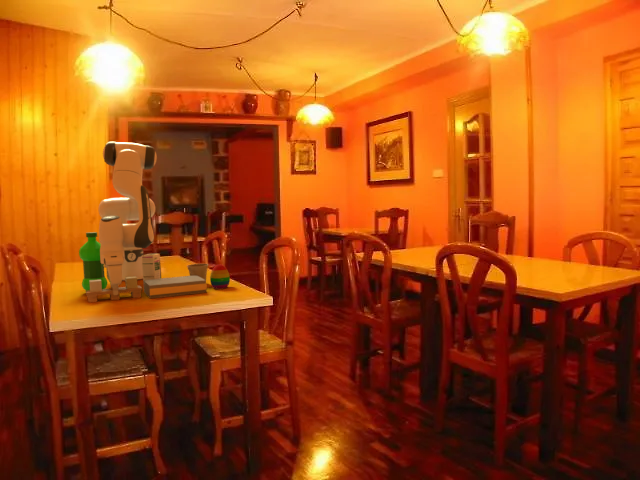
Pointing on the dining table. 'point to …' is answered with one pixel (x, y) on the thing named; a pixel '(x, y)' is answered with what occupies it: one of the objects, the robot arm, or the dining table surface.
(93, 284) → the block
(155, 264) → the syrup box
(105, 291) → the pallet
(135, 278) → the crate
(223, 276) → the decorative egg
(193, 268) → the flower pot
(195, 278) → the dock
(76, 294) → the dining table surface
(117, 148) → the robot arm
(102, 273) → the plastic bottle
